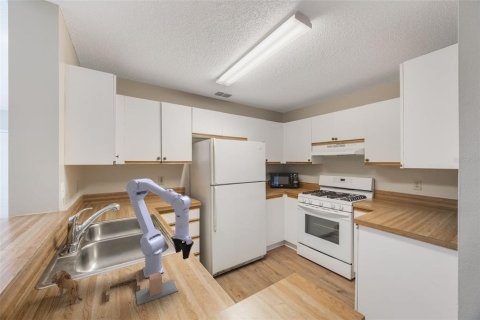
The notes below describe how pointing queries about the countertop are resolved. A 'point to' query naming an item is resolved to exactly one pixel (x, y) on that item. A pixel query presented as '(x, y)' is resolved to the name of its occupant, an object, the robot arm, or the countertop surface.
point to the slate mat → (145, 297)
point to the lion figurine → (66, 284)
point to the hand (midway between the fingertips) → (182, 255)
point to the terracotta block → (155, 284)
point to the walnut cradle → (122, 284)
